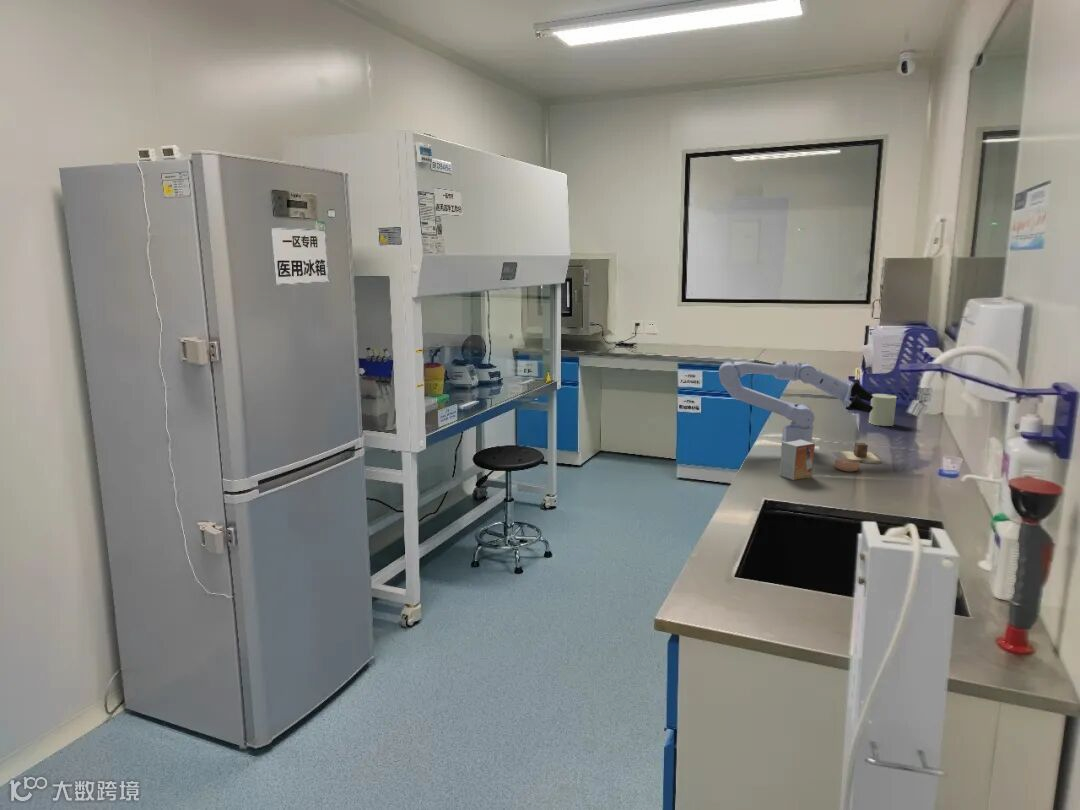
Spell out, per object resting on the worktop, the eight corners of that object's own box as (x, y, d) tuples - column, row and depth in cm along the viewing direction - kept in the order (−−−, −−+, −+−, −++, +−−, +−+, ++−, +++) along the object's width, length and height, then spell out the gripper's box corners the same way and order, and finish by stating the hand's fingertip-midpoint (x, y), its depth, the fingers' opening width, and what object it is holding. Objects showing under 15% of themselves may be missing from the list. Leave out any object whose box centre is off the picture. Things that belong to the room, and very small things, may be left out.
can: (899, 425, 272) (902, 396, 270) (881, 427, 269) (885, 397, 266) (879, 420, 281) (883, 391, 278) (862, 422, 277) (866, 393, 275)
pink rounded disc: (837, 473, 211) (838, 464, 210) (831, 466, 217) (832, 457, 217) (861, 474, 210) (863, 465, 209) (854, 467, 217) (855, 458, 216)
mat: (842, 464, 220) (843, 462, 220) (831, 454, 232) (832, 452, 232) (889, 466, 219) (889, 464, 219) (875, 455, 230) (875, 454, 230)
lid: (848, 461, 221) (850, 447, 220) (839, 453, 231) (840, 439, 230) (881, 463, 220) (883, 448, 219) (870, 454, 229) (872, 440, 228)
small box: (793, 480, 204) (796, 446, 201) (778, 475, 208) (781, 441, 206) (812, 477, 207) (815, 443, 205) (797, 472, 212) (800, 438, 210)
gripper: (838, 386, 220) (878, 406, 218) (839, 366, 231) (878, 384, 230) (826, 403, 224) (865, 422, 222) (828, 382, 236) (866, 400, 234)
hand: (871, 404), depth 226 cm, fingers open, 7 cm apart
